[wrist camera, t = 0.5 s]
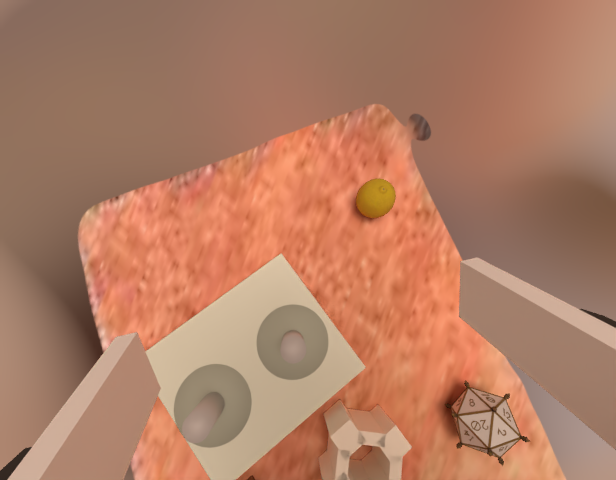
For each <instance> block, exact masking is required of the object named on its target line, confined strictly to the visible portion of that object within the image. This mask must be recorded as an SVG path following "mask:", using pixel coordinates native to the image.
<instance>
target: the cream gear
mask: <svg viewBox="0 0 616 480" xmlns="http://www.w3.org/2000/svg"><path fill="white" fill-rule="evenodd" d="M323 414H324V418H325V421H326V425H327V428H328V431H329V436H328V445H327V450H326V451H325V452H324V453H323V454H322V455H321V456H320V457H319V458H318V460H319V466H320V471H321V477H322V480H401V474H402V457H403V456H404V455H405V454H406V453H407V452H408V451H409V450H410V449H411V448H412V447H411V445H410V444H409V442H408V441H407V440H406V438H405V437H404V436H403V434H402V433H401V432H400V430H399V429H398V428H397V426H396V425H395V424H394V422H393V421H392V420H391V419H390V418H389V417H388V415H387V414H386V413H385V412H384V411H383V409H382V408H381V407H380V406H379V405H376V406H375V407H374V408H373V409H372V410H371V411H370V412H369V411H363V410H355V409H347V408H346V407H345V406H344V404H343V403H342V401H341V400H340V399H339V400H338V401H337V402H336V403H335V404H334V405H333V406H331V407H330V408H329V409H328V410H327V411H326V412H324V413H323ZM362 445H370V446H372V450H371V451H370V452H369V453H368V454H367V455H366V456H365V457H364V458H363V459H362V460H354V459H349V457H350V456H351V455H352V454H353V453H354V452H355V451H356V450H357V449H358V448H360V447H361V446H362Z"/></svg>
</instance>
